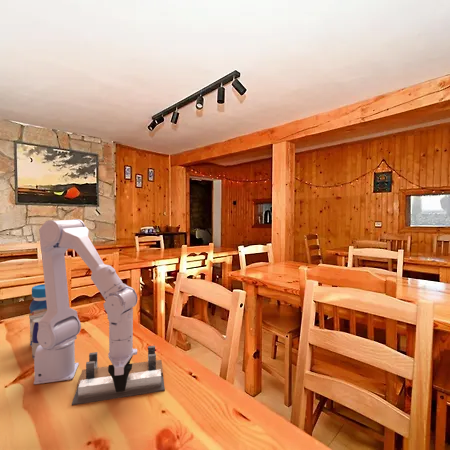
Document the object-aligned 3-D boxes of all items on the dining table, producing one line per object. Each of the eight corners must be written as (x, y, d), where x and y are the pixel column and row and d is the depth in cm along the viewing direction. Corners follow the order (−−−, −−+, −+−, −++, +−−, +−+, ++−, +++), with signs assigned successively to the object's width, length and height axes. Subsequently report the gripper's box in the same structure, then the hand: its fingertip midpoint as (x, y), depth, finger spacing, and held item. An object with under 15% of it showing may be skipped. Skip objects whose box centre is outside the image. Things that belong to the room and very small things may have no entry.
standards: (77, 389, 74) (77, 366, 74) (82, 373, 81) (82, 352, 81) (163, 376, 81) (163, 355, 80) (161, 363, 87) (161, 343, 87)
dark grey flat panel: (71, 405, 68) (71, 403, 68) (77, 389, 74) (77, 388, 74) (164, 390, 75) (164, 389, 75) (163, 377, 80) (163, 375, 80)
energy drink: (42, 361, 87) (42, 323, 86) (27, 359, 88) (27, 321, 87) (56, 352, 92) (55, 316, 91) (42, 350, 93) (41, 314, 92)
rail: (78, 399, 70) (78, 387, 70) (80, 391, 73) (80, 380, 73) (161, 386, 76) (161, 375, 75) (160, 379, 79) (160, 369, 78)
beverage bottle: (64, 338, 102) (63, 283, 100) (47, 350, 93) (46, 290, 92) (42, 336, 103) (41, 282, 101) (23, 348, 94) (22, 289, 93)
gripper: (136, 347, 68) (136, 401, 68) (137, 322, 81) (137, 368, 82) (104, 350, 66) (105, 407, 66) (111, 325, 79) (111, 372, 80)
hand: (121, 386), depth 74 cm, fingers open, 3 cm apart
